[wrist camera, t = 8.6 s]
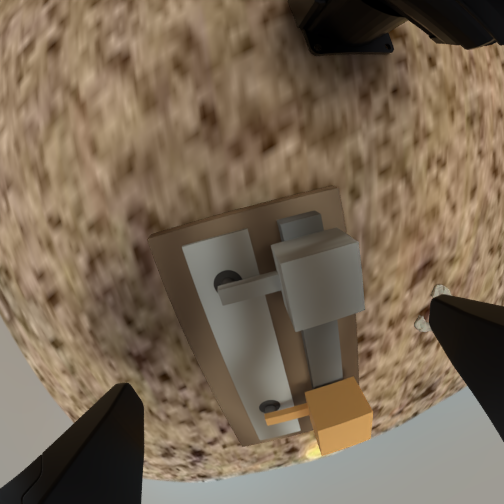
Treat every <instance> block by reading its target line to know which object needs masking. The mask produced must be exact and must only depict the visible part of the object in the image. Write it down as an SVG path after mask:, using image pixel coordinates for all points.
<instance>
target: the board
mask: <svg viewBox="0 0 504 504" xmlns="http://www.w3.org/2000/svg"><path fill="white" fill-rule="evenodd" d="M147 241H148V244H149V246H150V249H151V252H152V255H153V257H154V260H155V263H156V265H157V268H158V271H159V273H160V276H161V279H162V281H163V284H164V286H165V289H166V291H167V294H168V296H169V299H170V301H171V304H172V306H173V308H174V311H175V313H176V315H177V318H178V320H179V322H180V325H181V327H182V329H183V332H184V334H185V336H186V338H187V341H188V343H189V345H190V347H191V349H192V351H193V354H194V356H195V358H196V360H197V362H198V364H199V366H200V368H201V370H202V372H203V374H204V376H205V378H206V380H207V382H208V384H209V386H210V388H211V390H212V392H213V394H214V396H215V398H216V400H217V402H218V404H219V406H220V408H221V409H222V411H223V413H224V415H225V417H226V419H227V420H228V422H229V424H230V426H231V428H232V429H233V431H234V433H235V435H236V436H237V438H238V440H239V442H240V443H241V445H242V447H243V446H249V445H254V444H259V443H264V442H269V441H273V440H278V439H282V438H286V437H290V436H294V435H297V434H301V433H305V432H308V431H312V430H313V427H312V424H311V421H310V416H309V415H308V416H304V417H301V418H297V419H293V420H290V421H286V422H282V423H278V424H274V425H269V426H268V425H267V423H266V420H265V416H264V414H265V408H266V407H267V406H274V407H275V408H276V411H278V410H282V409H286V408H290V407H294V406H297V405H301V404H304V403H307V402H306V397H305V392H307V391H310V390H314V389H317V388H320V387H323V386H326V385H330V384H333V383H336V382H338V381H341V380H344V379H347V378H350V377H353V376H354V378H355V380H356V382H357V383H358V385H359V369H358V344H357V327H356V314H355V313H358V312H361V311H363V310H365V305H364V291H363V279H362V269H361V259H360V250H359V242H358V241H357V240H355V239H354V238H352V237H351V236H349V235H348V234H346V227H345V221H344V215H343V209H342V203H341V197H340V192H339V188H338V187H334V186H329V187H325V188H320V189H316V190H312V191H308V192H304V193H299V194H295V195H291V196H287V197H283V198H279V199H275V200H271V201H267V202H264V203H260V204H256V205H252V206H248V207H245V208H241V209H237V210H233V211H230V212H226V213H222V214H219V215H215V216H212V217H208V218H205V219H201V220H198V221H194V222H191V223H187V224H184V225H181V226H177V227H174V228H170V229H167V230H164V231H161V232H157V233H154V234H151V235H150V237H149V238H148V239H147Z"/></svg>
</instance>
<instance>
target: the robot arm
mask: <svg viewBox="0 0 504 504" xmlns="http://www.w3.org/2000/svg"><path fill="white" fill-rule="evenodd" d="M288 3H289V6H290V8H291V11H292V13H293V16H294V19H295V21H296V24H297V27H298V28H300V29H301V30H302V31H303V34H304V36H305V39H306V42H307V45H308V48H309V51H310V52H311V53H312V54H313V55H315V56H323V55H339V54H390V53H392V52H393V50H394V47H393V44H392V42H391V39H390V36H389V34H388V32H390V31H391V30H393V29H394V28H396V27H398V26H399V25H401V24H403V23H404V22H406V21H408V20H409V21H410V22H412V23H413V24H415V25H416V26H417V27H419V28H420V29H421V30H423V31H424V32H425V33H426V34H428V35H429V38H430V39H432V40H433V41H434V42H435V43H438V44H450V45H461V46H462V47H463V48H464V49H466V50H470V49H475V48H479V47H482V46H487V45H492V44H494V43H496V42H497V43H498V44H499V45H504V0H288ZM385 45H386V46H387V47H388V49H387V48H386V47H385ZM314 46H317V47H319V48H320V51H318V50H316V49H315V48H314ZM429 325H430V328H431V330H432V331H433V333H434V335H435V336H436V338H437V340H438V341H439V343H440V344H441V346H442V348H443V350H444V351H445V353H446V355H447V356H448V358H449V360H450V361H451V363H452V365H453V366H454V367H455V369H456V370H457V372H458V373H459V374H460V376H461V377H462V379H463V380H464V381H465V383H466V384H467V386H468V387H469V389H470V390H471V391H472V393H473V394H474V396H475V397H476V399H477V400H478V402H479V403H480V405H481V406H482V408H483V409H484V411H485V412H486V414H487V416H488V417H489V419H490V420H491V422H492V423H493V425H494V427H495V428H496V430H497V432H498V433H499V435H500V437H501V438H502V440H503V442H504V306H499V305H494V304H489V303H485V302H480V301H475V300H470V299H465V298H460V297H456V296H451V295H446V294H441V295H439V296H436V297H434V298H433V299H432V300H431V303H430V315H429ZM143 462H144V406H143V403H142V401H141V399H140V398H139V396H138V395H137V393H136V392H135V390H134V389H133V387H132V386H131V385H130V384H129V383H119V384H116V385H114V386H113V387H112V388H111V389H110V390H109V391H108V392H107V393H106V394H105V395H104V396H103V397H102V398H100V399H99V400H98V401H97V402H96V403H95V404H94V405H93V406H92V407H91V408H90V409H89V410H88V411H87V412H86V413H85V414H83V415H82V416H81V417H80V418H79V419H78V420H77V421H76V422H75V423H74V424H73V425H72V426H71V427H70V428H69V429H68V430H66V431H65V432H64V434H62V435H61V436H60V437H59V438H58V439H57V440H56V441H55V442H54V443H53V444H52V445H51V446H49V447H48V448H47V449H46V450H45V451H44V452H43V453H42V455H40V456H39V457H38V458H37V459H36V460H35V461H33V462H32V463H31V464H30V465H29V466H28V467H27V468H26V469H24V470H23V471H22V472H21V473H20V474H18V475H17V476H16V477H15V478H13V479H12V480H11V481H9V482H8V483H7V484H6V485H4V486H3V487H2V488H0V504H141V494H142V492H141V491H142V476H143Z"/></svg>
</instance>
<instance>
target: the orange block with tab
mask: <svg viewBox="0 0 504 504" xmlns="http://www.w3.org/2000/svg"><path fill="white" fill-rule="evenodd" d="M305 397H306V402H307V403H304V404H301V405H297V406H294V407H290V408H286V409H282V410H278V411H276V408H275V407H274V406H267V407H266V408H265V414H264V416H265V420H266V423H267V425H268V426H269V425H274V424H278V423H282V422H286V421H290V420H293V419H297V418H301V417H304V416H308V415H309V416H310V421H311V424H312V427H313V430H314V433H315V436H316V439H317V442H318V445H319V448H320V452H321V455H322V456H323V455H326V454H330V453H333V452H336V451H339V450H342V449H345V448H347V447H350V446H353V445H356V444H358V443H361V442H364V441H366V440H369V439H370V438H371V428H372V417H373V411H372V409H371V407H370V405H369V403H368V402H367V400H366V398H365V396H364V394H363V392H362V391H361V389H360V387H359V385H358V383H357V382H356V380H355V378H354V376H353V377H350V378H347V379H344V380H341V381H338V382H336V383H333V384H330V385H326V386H323V387H320V388H317V389H314V390H310V391H307V392H305Z"/></svg>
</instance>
